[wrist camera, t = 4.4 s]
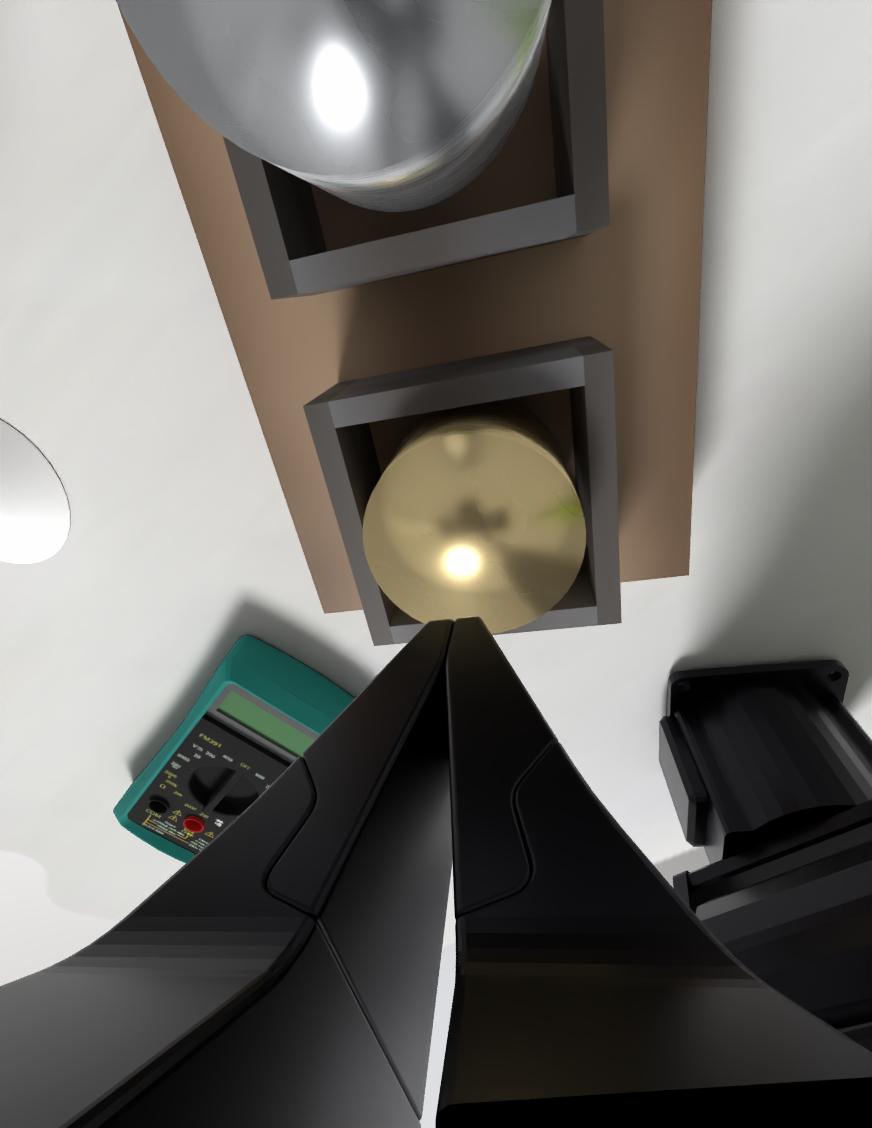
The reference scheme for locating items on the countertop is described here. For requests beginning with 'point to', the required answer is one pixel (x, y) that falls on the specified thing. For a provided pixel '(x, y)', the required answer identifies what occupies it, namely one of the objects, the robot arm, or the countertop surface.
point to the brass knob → (476, 518)
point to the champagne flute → (29, 502)
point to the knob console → (484, 302)
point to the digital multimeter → (229, 748)
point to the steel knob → (354, 85)
